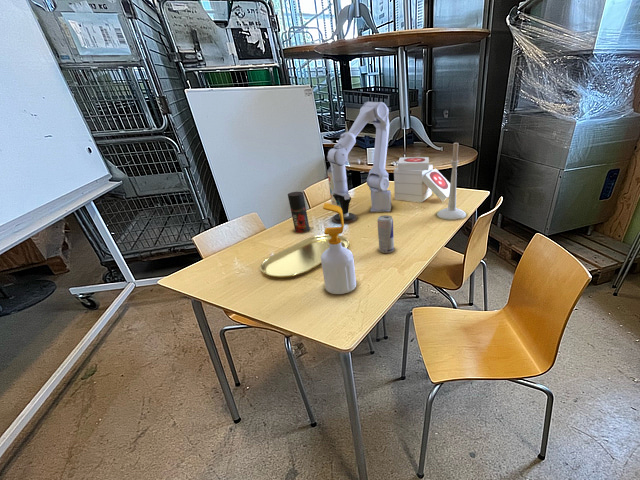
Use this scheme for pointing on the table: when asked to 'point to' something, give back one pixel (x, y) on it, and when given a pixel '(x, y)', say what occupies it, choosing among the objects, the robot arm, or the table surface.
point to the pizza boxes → (418, 180)
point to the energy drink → (385, 234)
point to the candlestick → (452, 193)
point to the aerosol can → (331, 186)
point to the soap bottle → (337, 259)
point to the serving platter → (298, 257)
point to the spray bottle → (344, 215)
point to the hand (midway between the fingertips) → (343, 211)
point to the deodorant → (298, 212)
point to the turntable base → (345, 220)
